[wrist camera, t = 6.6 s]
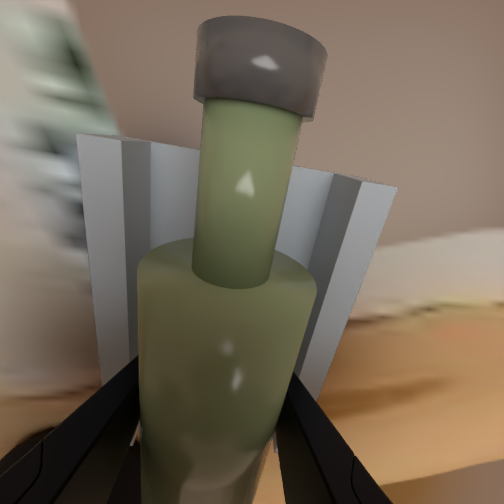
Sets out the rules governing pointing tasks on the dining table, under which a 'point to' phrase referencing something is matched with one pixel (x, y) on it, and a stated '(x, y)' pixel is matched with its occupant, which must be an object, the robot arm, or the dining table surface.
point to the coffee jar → (127, 482)
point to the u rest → (182, 227)
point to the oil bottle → (228, 273)
